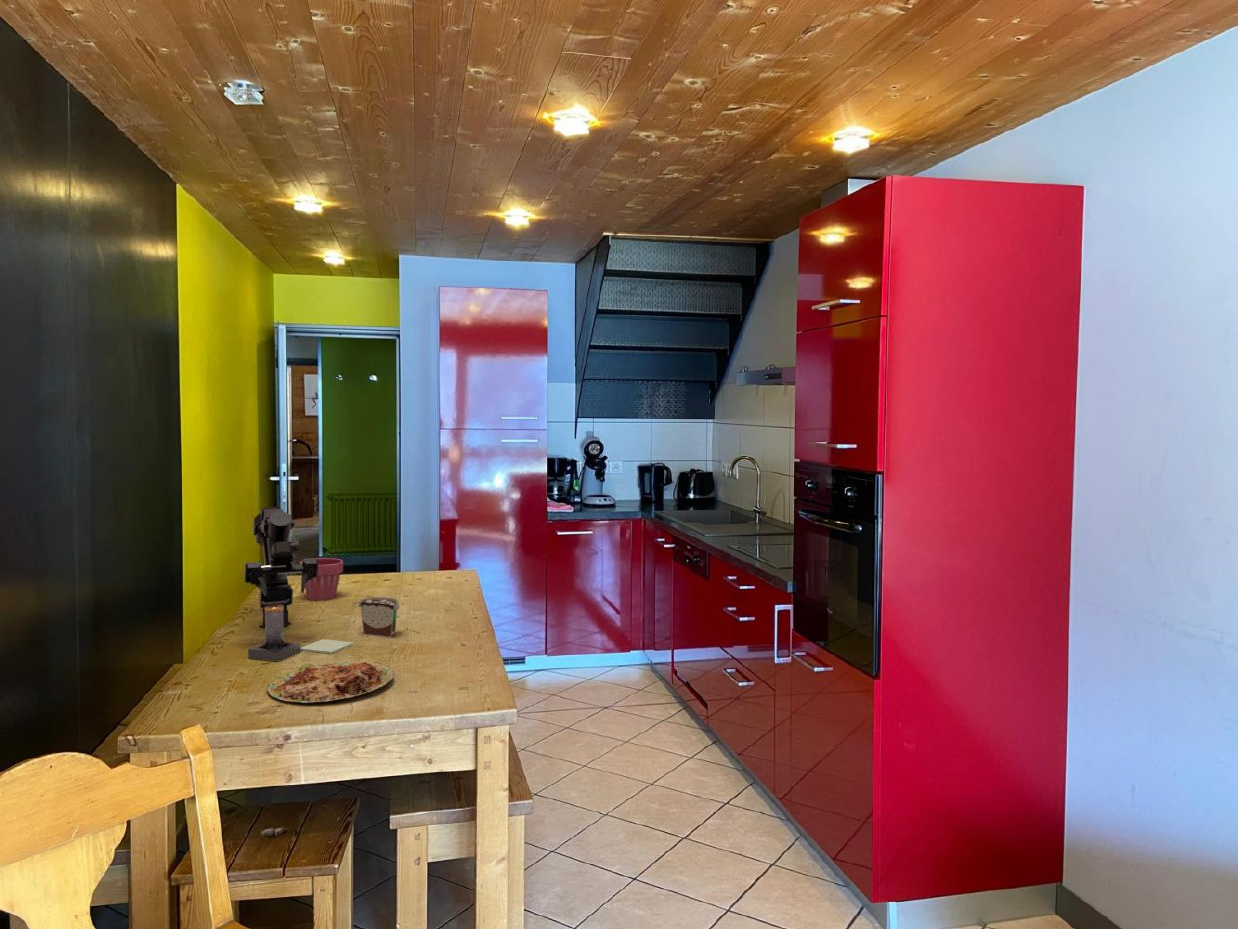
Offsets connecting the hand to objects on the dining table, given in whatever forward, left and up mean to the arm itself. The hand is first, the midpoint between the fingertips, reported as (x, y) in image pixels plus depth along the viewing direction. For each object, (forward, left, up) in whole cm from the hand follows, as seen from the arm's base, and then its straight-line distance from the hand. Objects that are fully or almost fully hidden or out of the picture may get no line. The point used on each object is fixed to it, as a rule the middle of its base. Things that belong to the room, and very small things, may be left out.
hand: (284, 593), depth 230 cm
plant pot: (-29, +55, -15) cm, 64 cm away
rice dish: (+32, -24, -15) cm, 43 cm away
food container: (+17, +21, -15) cm, 31 cm away
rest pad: (+11, +3, -15) cm, 18 cm away
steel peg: (+3, -8, -15) cm, 17 cm away
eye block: (+3, -8, -15) cm, 17 cm away
